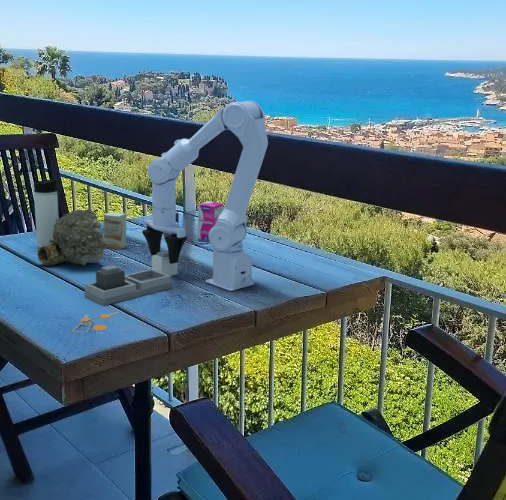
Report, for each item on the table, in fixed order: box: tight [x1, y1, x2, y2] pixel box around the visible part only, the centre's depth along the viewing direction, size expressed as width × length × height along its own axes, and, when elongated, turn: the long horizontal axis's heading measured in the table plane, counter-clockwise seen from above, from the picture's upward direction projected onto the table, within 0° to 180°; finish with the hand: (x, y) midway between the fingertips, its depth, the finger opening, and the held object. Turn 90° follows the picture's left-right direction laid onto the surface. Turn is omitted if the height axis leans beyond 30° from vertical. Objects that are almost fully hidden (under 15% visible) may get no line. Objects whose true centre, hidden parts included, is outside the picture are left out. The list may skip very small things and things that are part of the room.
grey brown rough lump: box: [37, 208, 107, 267], centre depth 177 cm, size 18×14×15 cm
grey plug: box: [151, 250, 179, 277], centre depth 171 cm, size 4×5×6 cm
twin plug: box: [95, 264, 126, 291], centre depth 153 cm, size 4×5×6 cm
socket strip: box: [83, 268, 173, 306], centre depth 157 cm, size 8×19×3 cm, turn 135°
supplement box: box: [197, 200, 224, 243], centre depth 205 cm, size 6×6×12 cm
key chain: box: [71, 311, 120, 334], centre depth 139 cm, size 13×7×1 cm, turn 172°
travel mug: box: [33, 178, 60, 251], centre depth 191 cm, size 6×7×20 cm
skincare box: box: [103, 211, 127, 251], centre depth 195 cm, size 5×4×10 cm
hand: (164, 259), depth 171 cm, fingers open, 7 cm apart
